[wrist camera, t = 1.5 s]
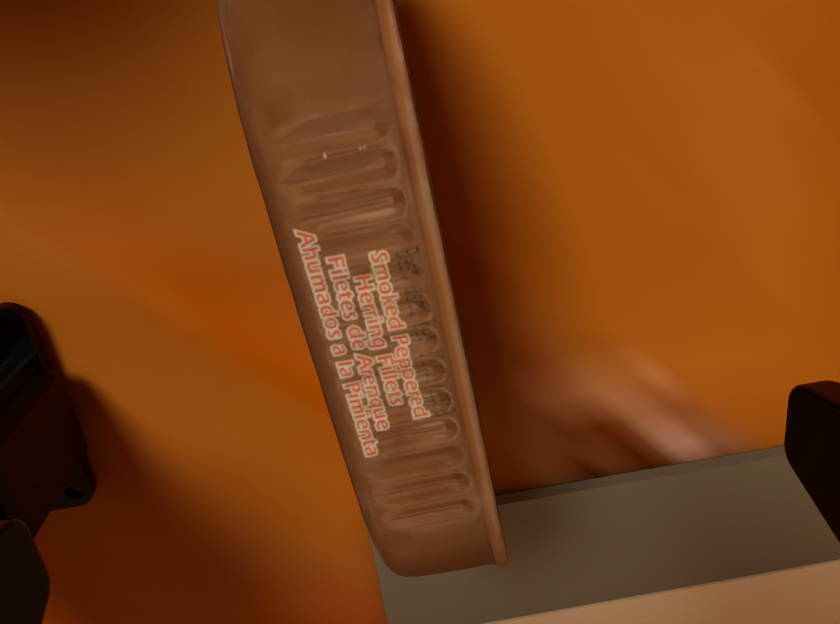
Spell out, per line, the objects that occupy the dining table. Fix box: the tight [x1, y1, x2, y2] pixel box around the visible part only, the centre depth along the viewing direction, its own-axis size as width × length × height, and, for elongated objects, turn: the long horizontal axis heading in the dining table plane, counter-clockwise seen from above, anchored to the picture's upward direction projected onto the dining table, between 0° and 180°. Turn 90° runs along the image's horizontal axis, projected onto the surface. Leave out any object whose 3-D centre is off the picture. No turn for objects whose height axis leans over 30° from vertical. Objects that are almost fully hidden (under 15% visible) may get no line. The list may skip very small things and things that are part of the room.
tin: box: [216, 0, 510, 577], centre depth 15 cm, size 15×3×8 cm, turn 12°
